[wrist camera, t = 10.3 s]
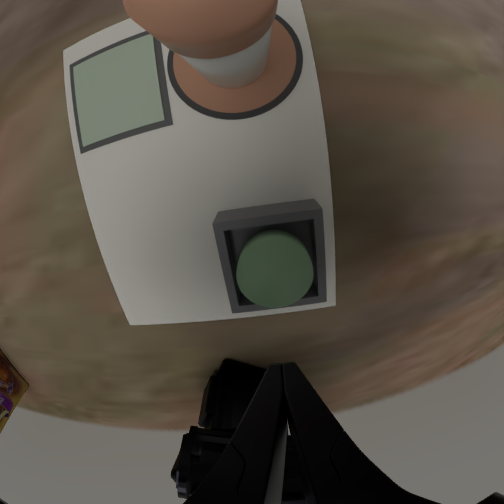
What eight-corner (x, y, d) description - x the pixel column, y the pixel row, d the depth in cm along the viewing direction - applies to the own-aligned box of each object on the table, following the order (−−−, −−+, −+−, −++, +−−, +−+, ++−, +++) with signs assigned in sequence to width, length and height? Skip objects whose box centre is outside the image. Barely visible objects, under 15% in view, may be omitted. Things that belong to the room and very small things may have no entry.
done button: (310, 288, 17) (315, 302, 15) (244, 297, 17) (243, 311, 15) (306, 225, 15) (311, 234, 14) (232, 235, 15) (229, 245, 14)
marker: (280, 39, 12) (303, -56, 4) (253, 99, 14) (245, 52, 5) (211, 19, 12) (164, -74, 3) (184, 79, 13) (98, 27, 5)
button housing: (319, 282, 19) (326, 301, 17) (234, 293, 19) (232, 313, 17) (314, 198, 16) (322, 208, 14) (218, 211, 17) (212, 223, 15)
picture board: (334, 301, 20) (336, 307, 19) (132, 321, 21) (129, 326, 20) (295, -12, 11) (296, -17, 10) (67, 51, 12) (61, 50, 12)
